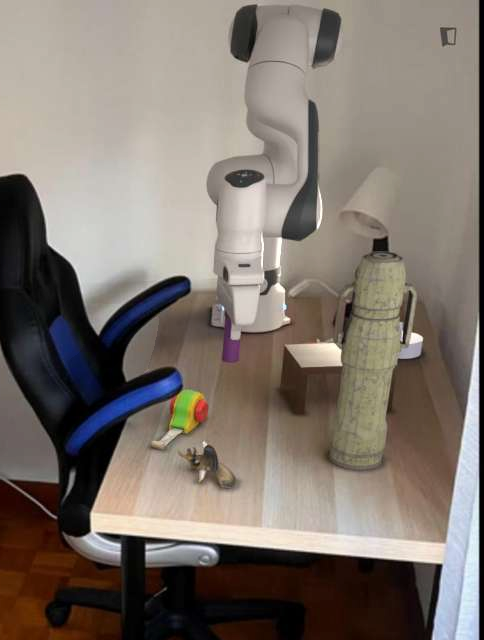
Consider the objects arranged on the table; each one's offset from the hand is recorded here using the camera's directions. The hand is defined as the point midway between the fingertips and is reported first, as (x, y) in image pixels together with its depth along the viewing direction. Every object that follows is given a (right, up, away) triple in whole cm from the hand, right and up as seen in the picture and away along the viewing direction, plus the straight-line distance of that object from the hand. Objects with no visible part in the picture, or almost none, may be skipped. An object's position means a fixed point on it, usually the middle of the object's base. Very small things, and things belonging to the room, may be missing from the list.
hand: (232, 334), depth 187 cm
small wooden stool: (+21, -12, +3) cm, 24 cm away
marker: (0, -5, +2) cm, 5 cm away
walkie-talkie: (+29, -2, +22) cm, 36 cm away
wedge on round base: (+40, +1, +28) cm, 49 cm away
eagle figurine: (-9, -29, -25) cm, 39 cm away
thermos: (+17, -25, -20) cm, 36 cm away
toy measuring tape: (-11, -19, -7) cm, 23 cm away
